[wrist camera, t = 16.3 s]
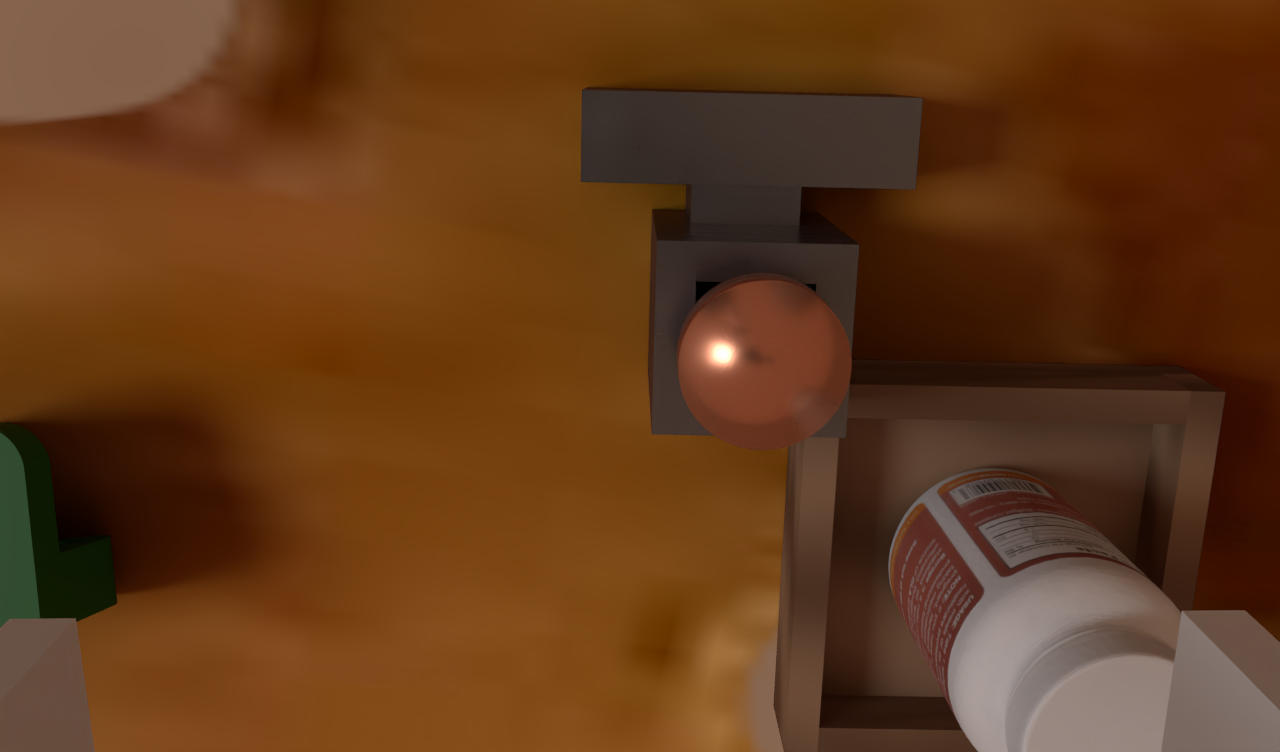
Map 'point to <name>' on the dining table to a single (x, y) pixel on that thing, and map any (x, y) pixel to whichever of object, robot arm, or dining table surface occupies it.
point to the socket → (744, 197)
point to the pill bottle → (1032, 618)
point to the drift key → (762, 360)
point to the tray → (939, 448)
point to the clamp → (44, 542)
